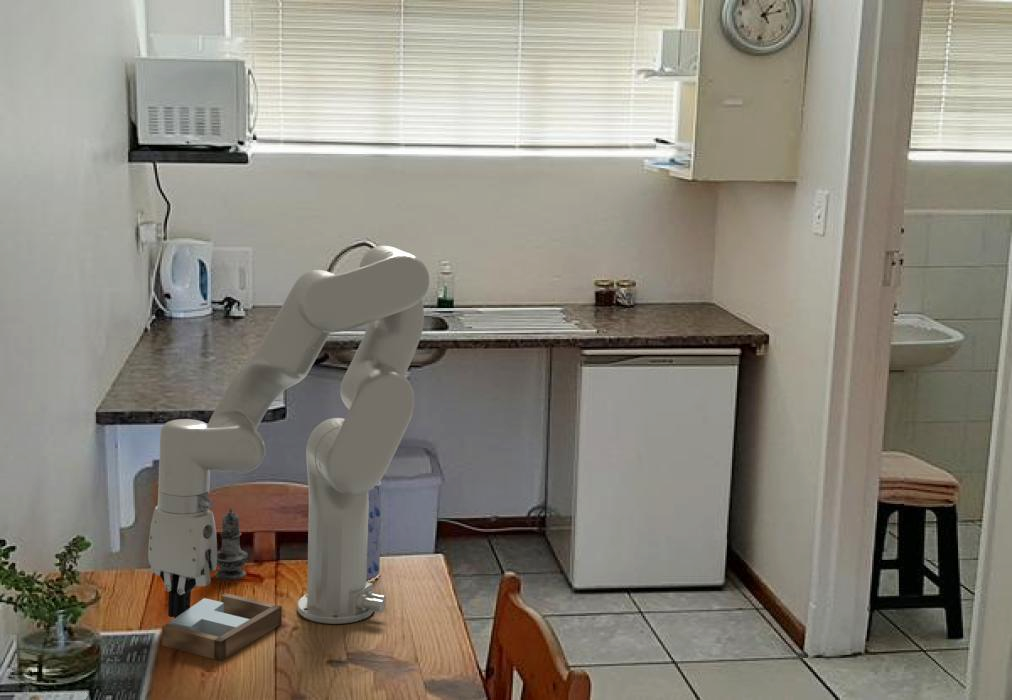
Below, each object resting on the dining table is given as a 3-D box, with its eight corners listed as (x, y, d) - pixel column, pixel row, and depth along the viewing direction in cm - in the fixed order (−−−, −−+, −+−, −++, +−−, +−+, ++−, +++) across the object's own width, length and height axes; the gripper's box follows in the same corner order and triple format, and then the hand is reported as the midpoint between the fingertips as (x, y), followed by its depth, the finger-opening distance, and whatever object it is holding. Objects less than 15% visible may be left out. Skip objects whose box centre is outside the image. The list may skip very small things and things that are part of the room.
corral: (162, 645, 184) (162, 626, 184) (225, 610, 198) (225, 593, 198) (220, 660, 180) (220, 641, 180) (281, 624, 194) (281, 606, 193)
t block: (168, 637, 186) (169, 621, 185) (203, 612, 195) (204, 598, 195) (228, 652, 183) (229, 636, 183) (260, 626, 193) (261, 611, 192)
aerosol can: (386, 570, 219) (389, 461, 215) (371, 586, 211) (374, 473, 208) (345, 564, 221) (347, 457, 217) (328, 580, 213) (330, 468, 210)
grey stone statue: (250, 569, 217) (251, 503, 215) (244, 581, 211) (245, 514, 209) (216, 568, 217) (217, 502, 214) (210, 580, 211) (210, 513, 209)
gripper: (238, 504, 188) (233, 618, 191) (160, 486, 194) (156, 597, 197) (207, 516, 181) (202, 634, 184) (127, 497, 187) (124, 611, 190)
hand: (178, 614), depth 191 cm, fingers closed
